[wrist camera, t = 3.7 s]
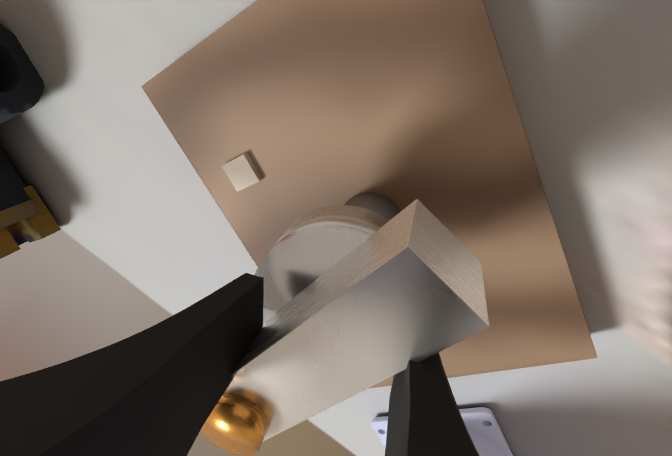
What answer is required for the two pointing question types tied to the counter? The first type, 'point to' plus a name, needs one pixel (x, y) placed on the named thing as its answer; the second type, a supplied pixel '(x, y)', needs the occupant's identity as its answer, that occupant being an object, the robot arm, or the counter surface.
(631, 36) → the counter surface
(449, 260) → the lever with brass knob
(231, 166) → the plate
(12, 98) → the pipe connector
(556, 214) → the counter surface
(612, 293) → the counter surface
